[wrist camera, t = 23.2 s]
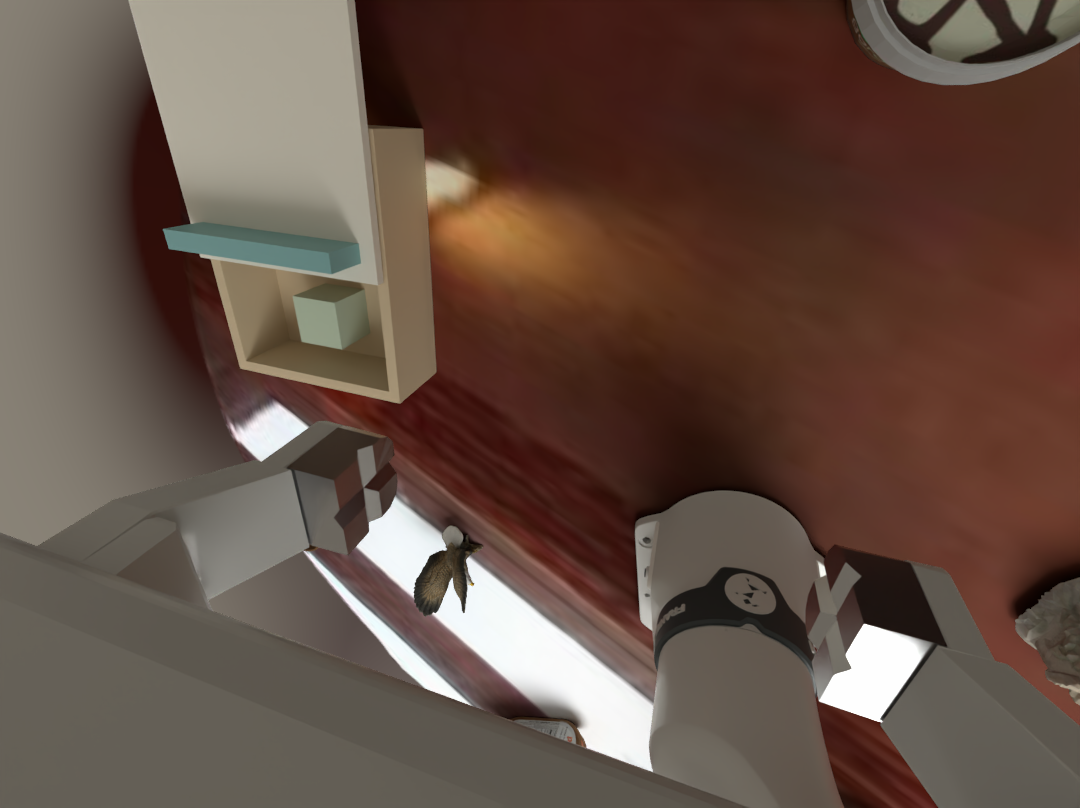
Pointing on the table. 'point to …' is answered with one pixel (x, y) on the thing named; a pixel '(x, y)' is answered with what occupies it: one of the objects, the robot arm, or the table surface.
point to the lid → (266, 131)
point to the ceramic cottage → (1056, 634)
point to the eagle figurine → (445, 572)
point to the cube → (332, 315)
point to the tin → (553, 728)
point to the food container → (963, 36)
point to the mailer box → (393, 307)
